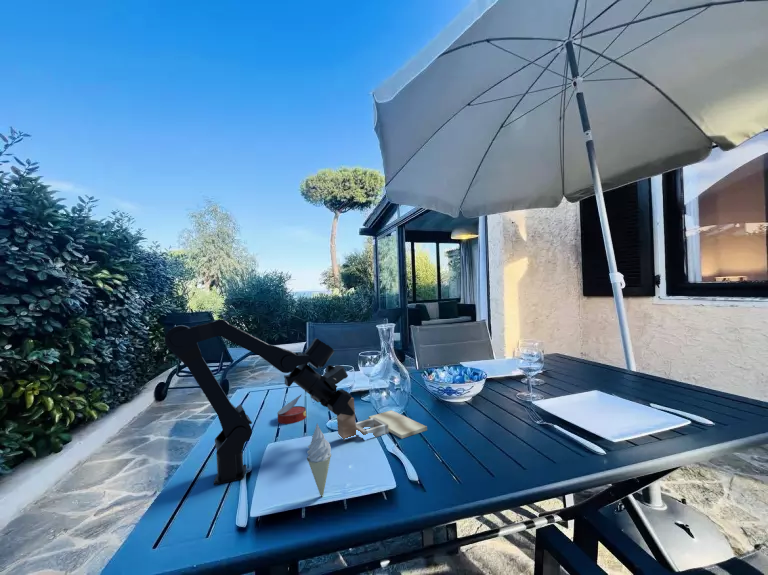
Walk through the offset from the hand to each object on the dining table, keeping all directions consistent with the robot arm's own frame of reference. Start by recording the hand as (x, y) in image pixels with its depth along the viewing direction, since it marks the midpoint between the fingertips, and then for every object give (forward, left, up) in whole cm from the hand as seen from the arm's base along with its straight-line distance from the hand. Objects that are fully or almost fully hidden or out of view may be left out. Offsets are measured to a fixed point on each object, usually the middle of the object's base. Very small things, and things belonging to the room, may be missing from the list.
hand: (350, 412), depth 97 cm
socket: (+3, -11, -8) cm, 13 cm away
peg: (0, +1, -7) cm, 7 cm away
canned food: (+27, +16, -8) cm, 33 cm away
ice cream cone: (-26, +11, -8) cm, 29 cm away
